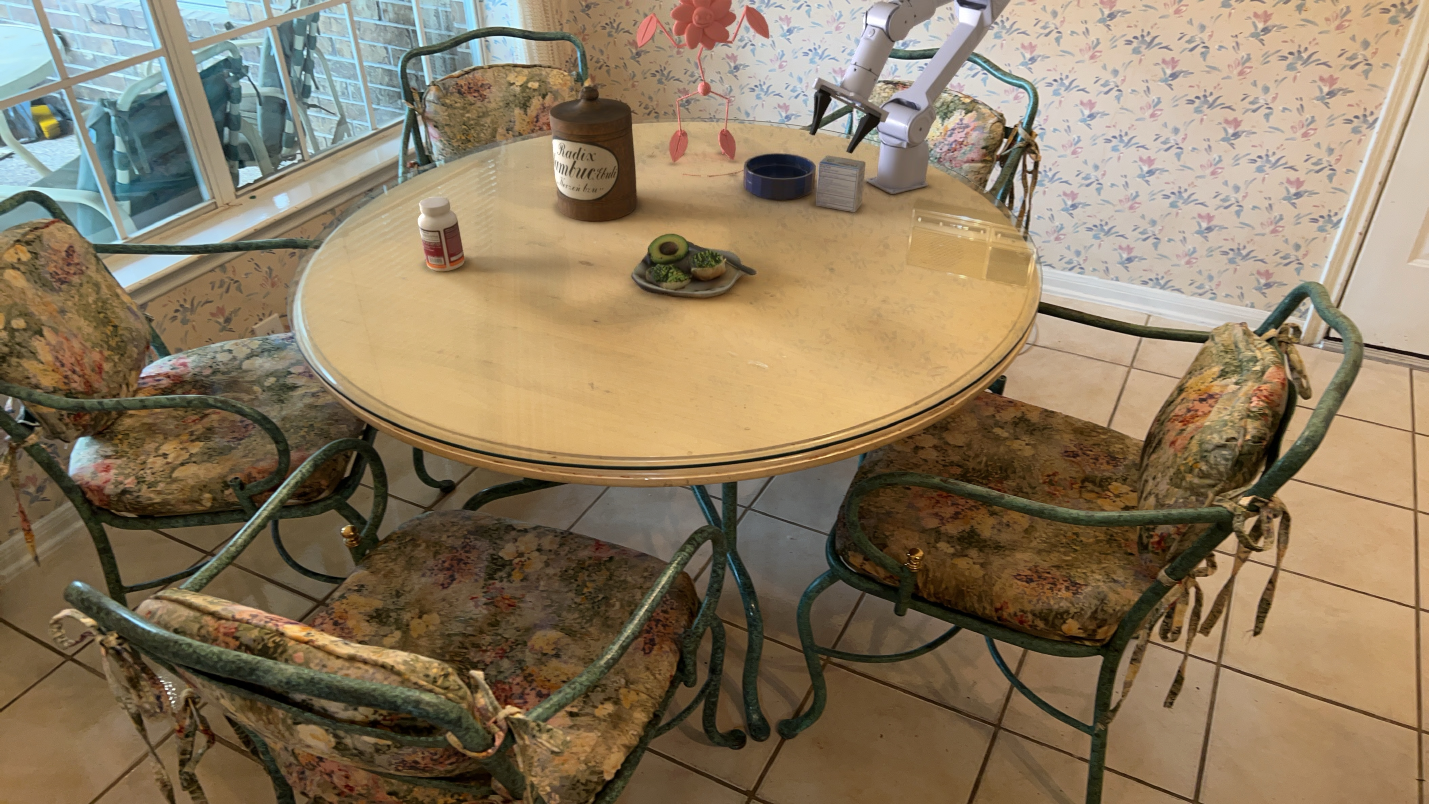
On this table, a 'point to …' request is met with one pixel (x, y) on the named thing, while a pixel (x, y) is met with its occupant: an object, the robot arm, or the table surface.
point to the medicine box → (840, 183)
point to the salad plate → (687, 269)
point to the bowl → (779, 176)
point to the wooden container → (594, 157)
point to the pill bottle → (440, 234)
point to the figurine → (705, 25)
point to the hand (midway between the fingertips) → (830, 143)
